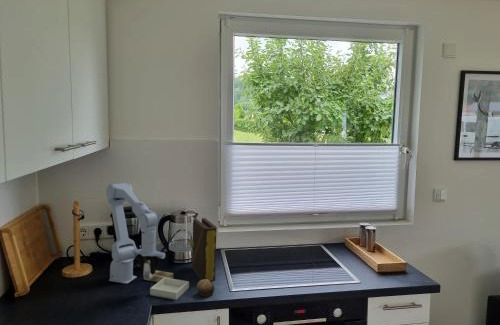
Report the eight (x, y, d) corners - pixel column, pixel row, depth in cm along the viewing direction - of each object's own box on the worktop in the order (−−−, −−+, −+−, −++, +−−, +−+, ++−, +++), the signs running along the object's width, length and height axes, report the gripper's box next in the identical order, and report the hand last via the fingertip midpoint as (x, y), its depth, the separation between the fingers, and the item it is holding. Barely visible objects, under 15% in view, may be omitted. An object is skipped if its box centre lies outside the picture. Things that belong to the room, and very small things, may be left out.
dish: (150, 295, 157) (150, 288, 156) (164, 284, 168) (164, 277, 168) (176, 299, 154) (176, 292, 153) (188, 288, 165) (188, 281, 165)
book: (218, 280, 174) (220, 227, 172) (201, 283, 171) (202, 229, 169) (204, 264, 194) (205, 216, 192) (188, 266, 191) (189, 217, 188)
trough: (143, 279, 172) (143, 274, 172) (150, 274, 178) (150, 269, 178) (167, 283, 169) (167, 278, 169) (173, 278, 175) (173, 273, 174)
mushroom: (193, 282, 163) (199, 274, 160) (209, 287, 166) (216, 279, 163) (192, 298, 156) (199, 289, 154) (209, 303, 159) (216, 294, 157)
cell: (141, 277, 157) (141, 261, 156) (146, 274, 161) (146, 258, 160) (149, 279, 156) (150, 262, 155) (154, 275, 160) (155, 259, 159)
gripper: (128, 241, 155) (127, 273, 156) (159, 246, 151) (158, 278, 152) (137, 237, 162) (137, 267, 163) (167, 241, 158) (167, 272, 159)
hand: (148, 272), depth 158 cm, fingers closed on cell, 4 cm apart
